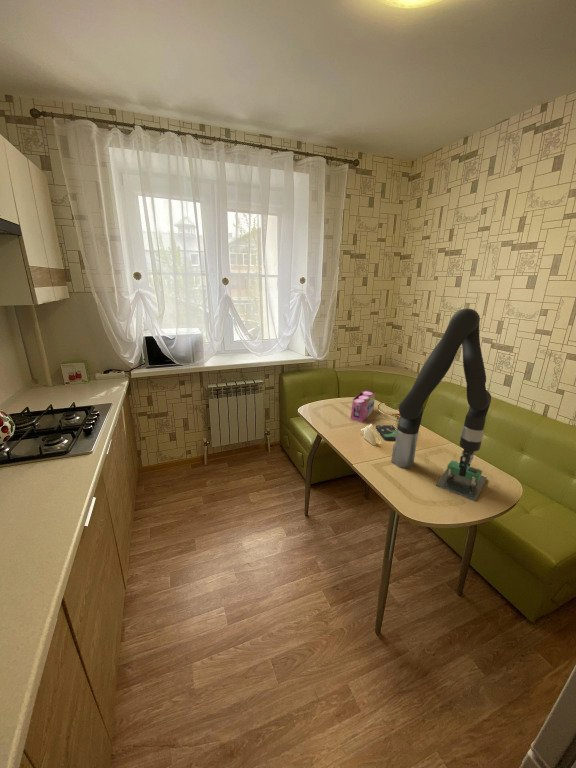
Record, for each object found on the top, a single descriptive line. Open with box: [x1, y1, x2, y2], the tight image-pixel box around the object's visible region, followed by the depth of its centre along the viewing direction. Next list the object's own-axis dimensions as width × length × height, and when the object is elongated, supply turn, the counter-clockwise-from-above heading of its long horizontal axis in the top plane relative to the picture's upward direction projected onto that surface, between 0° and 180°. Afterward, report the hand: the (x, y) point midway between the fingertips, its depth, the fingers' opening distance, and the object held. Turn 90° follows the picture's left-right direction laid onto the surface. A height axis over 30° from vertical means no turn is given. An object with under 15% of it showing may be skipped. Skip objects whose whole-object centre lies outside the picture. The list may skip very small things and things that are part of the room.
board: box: [446, 459, 483, 483], centre depth 134 cm, size 12×6×3 cm, turn 48°
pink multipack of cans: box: [350, 389, 376, 423], centre depth 202 cm, size 24×8×14 cm, turn 148°
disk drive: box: [375, 424, 397, 441], centre depth 178 cm, size 10×3×15 cm
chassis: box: [435, 460, 488, 502], centre depth 135 cm, size 15×20×6 cm
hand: (463, 472), depth 134 cm, fingers closed on board, 5 cm apart
